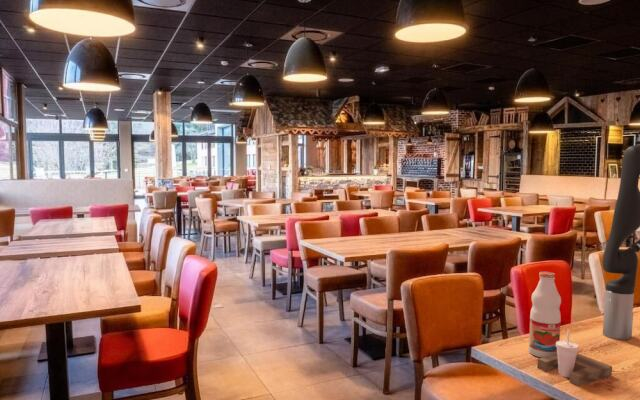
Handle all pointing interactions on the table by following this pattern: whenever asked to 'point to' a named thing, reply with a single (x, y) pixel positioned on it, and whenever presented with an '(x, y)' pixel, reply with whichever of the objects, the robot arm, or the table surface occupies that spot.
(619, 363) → the table surface
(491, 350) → the table surface
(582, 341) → the table surface
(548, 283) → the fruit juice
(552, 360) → the notched board
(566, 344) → the smoothie
